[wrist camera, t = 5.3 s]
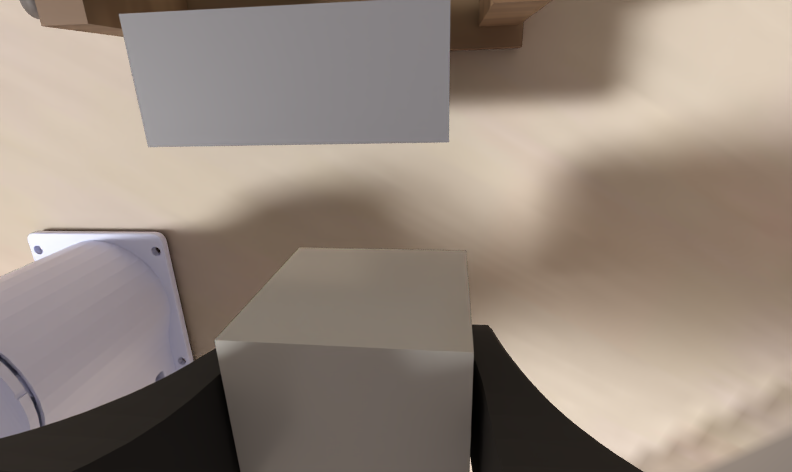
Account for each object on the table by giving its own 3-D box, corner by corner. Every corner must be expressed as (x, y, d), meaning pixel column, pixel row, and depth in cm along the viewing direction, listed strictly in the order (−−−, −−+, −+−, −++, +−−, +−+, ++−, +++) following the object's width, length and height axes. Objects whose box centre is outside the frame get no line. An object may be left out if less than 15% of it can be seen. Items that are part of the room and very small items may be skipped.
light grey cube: (462, 392, 14) (466, 545, 9) (314, 383, 15) (250, 523, 10) (466, 250, 12) (474, 352, 8) (299, 247, 13) (214, 340, 8)
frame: (528, 47, 18) (572, 31, 12) (161, 62, 20) (32, 54, 14) (533, -22, 18) (582, -80, 11) (149, -1, 19) (5, -39, 13)
